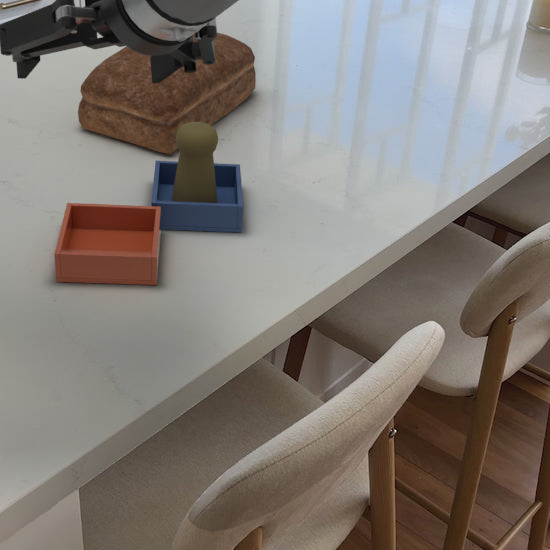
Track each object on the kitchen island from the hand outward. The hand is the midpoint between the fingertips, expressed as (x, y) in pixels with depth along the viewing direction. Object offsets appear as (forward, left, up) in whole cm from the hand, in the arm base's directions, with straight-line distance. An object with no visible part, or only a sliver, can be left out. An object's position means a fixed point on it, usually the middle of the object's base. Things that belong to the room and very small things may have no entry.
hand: (89, 67), depth 88 cm
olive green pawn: (+11, +15, -24) cm, 30 cm away
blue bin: (+11, +15, -24) cm, 31 cm away
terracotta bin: (+1, +3, -24) cm, 24 cm away
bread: (+7, +45, -24) cm, 52 cm away
